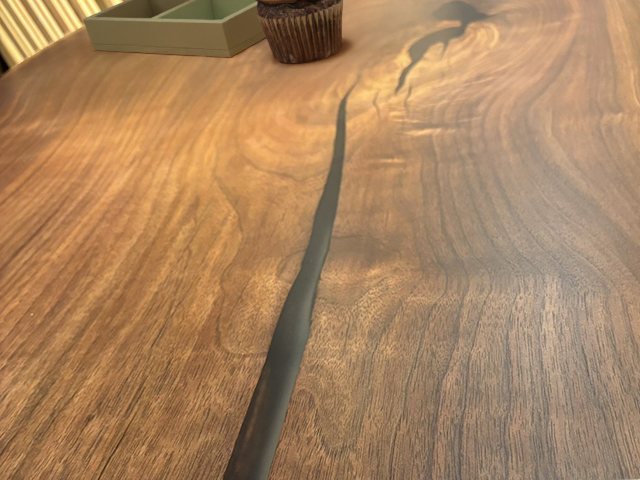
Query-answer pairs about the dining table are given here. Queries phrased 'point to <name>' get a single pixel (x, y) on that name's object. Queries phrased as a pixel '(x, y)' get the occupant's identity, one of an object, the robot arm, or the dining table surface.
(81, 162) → the dining table surface
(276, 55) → the cupcake
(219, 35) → the holder
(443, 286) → the dining table surface
